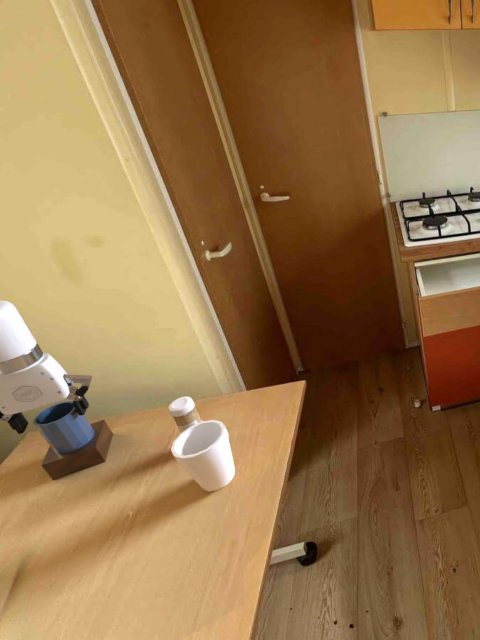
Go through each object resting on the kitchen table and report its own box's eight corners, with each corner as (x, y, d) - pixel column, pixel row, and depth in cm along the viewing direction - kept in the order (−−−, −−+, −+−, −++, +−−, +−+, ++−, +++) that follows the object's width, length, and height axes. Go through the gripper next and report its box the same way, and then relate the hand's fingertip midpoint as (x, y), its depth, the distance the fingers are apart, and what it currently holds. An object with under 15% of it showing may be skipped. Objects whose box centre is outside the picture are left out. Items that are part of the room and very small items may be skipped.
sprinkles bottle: (214, 434, 104) (195, 394, 98) (206, 449, 100) (186, 409, 94) (193, 437, 103) (173, 397, 97) (184, 453, 99) (163, 412, 93)
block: (52, 480, 93) (41, 465, 91) (64, 450, 100) (53, 435, 98) (105, 461, 97) (95, 446, 95) (113, 433, 104) (104, 419, 102)
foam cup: (182, 492, 91) (159, 452, 85) (218, 455, 99) (199, 416, 93) (218, 502, 89) (197, 462, 83) (252, 464, 97) (235, 424, 91)
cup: (50, 458, 92) (28, 430, 88) (59, 436, 97) (39, 408, 93) (90, 445, 95) (71, 417, 91) (97, 424, 101) (79, 396, 96)
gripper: (-59, 386, 78) (-10, 449, 85) (67, 355, 86) (102, 415, 94) (-40, 362, 84) (5, 424, 91) (77, 335, 92) (109, 394, 99)
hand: (54, 419), depth 92 cm, fingers open, 9 cm apart
